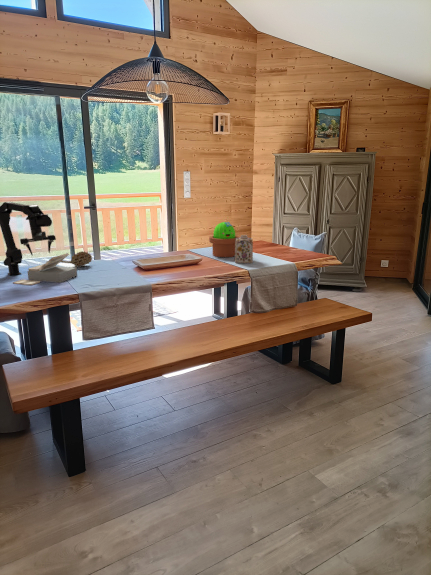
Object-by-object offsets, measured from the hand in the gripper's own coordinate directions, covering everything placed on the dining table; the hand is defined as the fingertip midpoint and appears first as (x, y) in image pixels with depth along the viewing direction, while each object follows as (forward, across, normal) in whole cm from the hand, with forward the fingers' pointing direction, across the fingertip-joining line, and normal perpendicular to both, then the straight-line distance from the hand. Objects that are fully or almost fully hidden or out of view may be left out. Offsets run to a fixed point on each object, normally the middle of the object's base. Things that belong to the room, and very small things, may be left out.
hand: (40, 254), depth 240 cm
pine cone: (+14, +20, +23) cm, 34 cm away
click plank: (+6, +6, -3) cm, 9 cm away
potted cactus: (+21, +124, +13) cm, 127 cm away
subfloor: (+15, +4, -1) cm, 15 cm away
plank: (+15, -10, -6) cm, 19 cm away
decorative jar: (+23, +126, -12) cm, 129 cm away
